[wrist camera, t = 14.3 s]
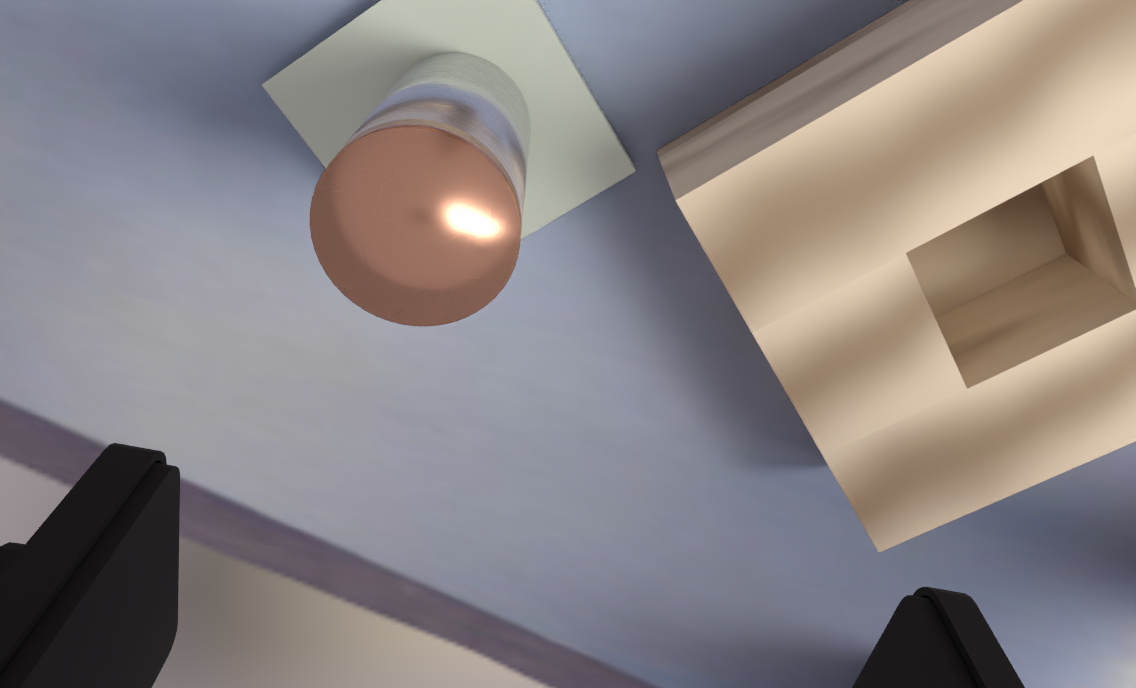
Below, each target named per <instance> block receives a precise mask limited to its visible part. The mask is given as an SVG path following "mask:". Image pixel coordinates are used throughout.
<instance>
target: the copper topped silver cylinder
mask: <svg viewBox="0 0 1136 688" xmlns="http://www.w3.org/2000/svg"><path fill="white" fill-rule="evenodd" d="M530 134H531V124H530V116H529V111H528V108H527V104H526V102H525V99H524V97H523V95H522V93H521V91H520V90H519V88H518V87H517V85H516V84H515V82H514V81H513V80H512V79H511V78H510V77H509V76H508V75H507V73H506V72H504V71H503V70H502V69H501V68H499V67H498V66H497V65H495V64H493V63H492V62H490V61H488V60H486V59H484V58H482V57H479V56H476V55H472V54H468V53H462V52H447V53H440V54H436V55H432V56H429V57H427V58H425V59H422V60H421V61H419V62H417V63H416V64H414V65H413V66H412V67H410V68H409V69H408V70H407V71H406V72H405V73H404V74H403V75H402V76H401V77H400V78H399V80H398V81H397V82H396V83H395V84H394V86H393V87H392V88H391V89H390V90H389V92H388V93H387V94H386V95H385V97H384V98H383V99H382V100H381V101H380V103H379V104H378V105H377V106H376V107H375V109H374V110H373V111H372V112H371V114H370V115H369V116H368V117H367V118H366V120H365V121H364V122H363V123H362V124H361V126H360V127H359V128H358V129H357V131H356V132H355V133H354V134H353V135H352V137H351V138H350V139H349V140H348V141H347V143H346V144H345V145H344V146H343V148H342V149H341V150H340V151H339V152H338V154H337V155H336V156H335V157H334V159H333V160H332V161H331V162H330V163H329V165H328V166H327V168H326V169H325V171H324V172H323V173H322V175H321V177H320V179H319V181H318V183H317V185H316V188H315V191H314V194H313V197H312V202H311V208H310V230H311V238H312V242H313V245H314V249H315V252H316V254H317V257H318V259H319V262H320V264H321V265H322V267H323V269H324V271H325V272H326V274H327V276H328V277H329V278H330V280H331V281H332V282H333V284H334V285H335V286H336V287H337V288H338V289H339V290H340V291H341V292H342V293H343V294H344V295H345V296H346V297H347V298H348V299H350V300H351V301H352V302H353V303H355V304H356V305H358V306H359V307H361V308H362V309H364V310H365V311H367V312H369V313H371V314H373V315H375V316H377V317H380V318H382V319H385V320H388V321H391V322H395V323H399V324H404V325H411V326H436V325H443V324H447V323H452V322H455V321H458V320H461V319H464V318H466V317H468V316H470V315H472V314H474V313H476V312H477V311H479V310H480V309H482V308H483V307H485V306H486V305H487V304H488V303H490V302H491V301H492V300H493V299H494V298H495V297H496V296H497V295H498V294H499V292H500V291H501V290H502V289H503V288H504V286H505V285H506V283H507V281H508V280H509V278H510V276H511V274H512V272H513V270H514V267H515V265H516V261H517V258H518V254H519V247H520V239H521V229H522V218H523V208H524V197H525V187H526V176H527V166H528V155H529V145H530Z"/></svg>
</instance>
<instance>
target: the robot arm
mask: <svg viewBox="0 0 1136 688" xmlns="http://www.w3.org/2000/svg"><path fill="white" fill-rule="evenodd" d="M179 505H180V471H179V469H178V467H176V466H171V465H167V464H166V457H165V454H164V453H163V452H161V451H157V450H151V449H145V448H140V447H134V446H129V445H123V444H117V443H113V444H110V445H109V446H108V447H107V448H106V449H105V450H104V451H103V452H102V453H101V454H100V456H99V457H98V458H97V459H96V460H95V462H94V463H93V464H92V465H91V466H90V468H89V469H88V470H87V471H86V472H85V474H84V475H83V476H82V477H81V478H80V480H79V481H78V482H77V483H76V484H75V486H74V487H73V488H72V489H71V490H70V492H69V493H68V494H67V495H66V496H65V498H64V499H63V500H62V501H61V503H60V504H59V505H58V506H57V507H56V508H55V510H54V511H53V512H52V513H51V514H50V516H49V517H48V518H47V519H46V520H45V522H44V523H43V524H42V525H41V526H40V528H39V529H38V530H37V531H36V532H35V534H34V535H33V536H32V537H31V538H30V540H29V541H28V542H27V543H26V544H19V543H11V542H9V543H7V544H5V545H3V546H0V688H152V686H153V684H154V682H155V680H156V678H157V676H158V674H159V672H160V670H161V668H162V667H163V664H164V663H165V661H166V659H167V657H168V655H169V653H170V651H171V648H172V645H173V643H174V639H175V636H176V631H177V624H178V571H179V570H178V568H179ZM852 688H1025V687H1024V685H1023V684H1022V682H1021V680H1020V679H1019V677H1018V675H1017V673H1016V672H1015V670H1014V668H1013V667H1012V665H1011V663H1010V661H1009V660H1008V658H1007V656H1006V655H1005V653H1004V651H1003V649H1002V648H1001V646H1000V644H999V643H998V641H997V639H996V637H995V636H994V634H993V632H992V630H991V629H990V627H989V625H988V624H987V622H986V620H985V618H984V617H983V615H982V613H981V612H980V610H979V608H978V606H977V605H976V603H975V602H974V601H973V599H972V598H971V597H970V596H968V595H966V594H964V593H959V592H953V591H947V590H942V589H936V588H930V587H921V588H919V589H918V590H916V592H915V593H914V594H913V596H912V595H907V596H906V597H904V598H903V599H902V600H901V602H900V603H899V605H898V607H897V609H896V610H895V612H894V614H893V616H892V618H891V619H890V621H889V623H888V625H887V627H886V628H885V630H884V632H883V634H882V635H881V637H880V639H879V641H878V643H877V644H876V646H875V648H874V650H873V652H872V653H871V655H870V657H869V659H868V660H867V662H866V664H865V666H864V668H863V669H862V671H861V673H860V675H859V676H858V678H857V680H856V682H855V684H854V685H853V687H852Z"/></svg>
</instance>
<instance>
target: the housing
mask: <svg viewBox="0 0 1136 688" xmlns="http://www.w3.org/2000/svg"><path fill="white" fill-rule="evenodd" d="M656 152H657V155H658V157H659V160H660V163H661V165H662V168H663V170H664V173H665V175H666V178H667V180H668V183H669V186H670V188H671V191H672V193H673V196H674V198H675V201H676V202H677V204H678V206H679V208H680V209H681V211H682V213H683V215H684V216H685V218H686V220H687V222H688V223H689V225H690V227H691V228H692V230H693V232H694V234H695V235H696V237H697V239H698V241H699V242H700V244H701V246H702V248H703V249H704V251H705V253H706V254H707V256H708V258H709V260H710V261H711V263H712V265H713V267H714V268H715V270H716V272H717V274H718V275H719V277H720V279H721V280H722V282H723V284H724V286H725V287H726V289H727V291H728V293H729V294H730V296H731V298H732V299H733V301H734V303H735V305H736V306H737V308H738V310H739V312H740V313H741V315H742V317H743V319H744V320H745V322H746V324H747V325H748V327H749V329H750V331H751V332H752V334H753V336H754V338H755V339H756V341H757V343H758V345H759V346H760V348H761V350H762V351H763V353H764V355H765V357H766V358H767V360H768V362H769V364H770V365H771V367H772V369H773V371H774V372H775V374H776V376H777V377H778V379H779V381H780V383H781V384H782V386H783V388H784V390H785V391H786V393H787V395H788V397H789V398H790V400H791V402H792V403H793V405H794V407H795V409H796V410H797V412H798V414H799V416H800V417H801V419H802V421H803V423H804V424H805V426H806V428H807V429H808V431H809V433H810V435H811V436H812V438H813V440H814V442H815V443H816V445H817V447H818V448H819V450H820V452H821V454H822V455H823V457H824V459H825V461H826V462H827V464H828V466H829V468H830V469H831V471H832V473H833V474H834V476H835V478H836V480H837V481H838V483H839V485H840V487H841V488H842V490H843V492H844V494H845V495H846V497H847V499H848V500H849V502H850V504H851V506H852V507H853V509H854V511H855V513H856V514H857V516H858V518H859V520H860V521H861V523H862V525H863V526H864V528H865V530H866V532H867V533H868V535H869V537H870V539H871V540H872V542H873V544H874V546H875V547H876V549H877V551H878V552H882V551H884V550H886V549H889V548H891V547H893V546H895V545H898V544H900V543H902V542H905V541H907V540H909V539H912V538H914V537H916V536H919V535H921V534H923V533H925V532H928V531H930V530H932V529H935V528H937V527H939V526H942V525H944V524H946V523H948V522H951V521H953V520H955V519H958V518H960V517H962V516H965V515H967V514H969V513H972V512H974V511H976V510H978V509H981V508H983V507H985V506H988V505H990V504H992V503H995V502H997V501H999V500H1001V499H1004V498H1006V497H1008V496H1011V495H1013V494H1015V493H1018V492H1020V491H1022V490H1025V489H1027V488H1029V487H1031V486H1034V485H1036V484H1038V483H1041V482H1043V481H1045V480H1048V479H1050V478H1052V477H1054V476H1057V475H1059V474H1061V473H1064V472H1066V471H1068V470H1071V469H1073V468H1075V467H1078V466H1080V465H1082V464H1084V463H1087V462H1089V461H1091V460H1094V459H1096V458H1098V457H1101V456H1103V455H1105V454H1108V453H1110V452H1112V451H1114V450H1117V449H1119V448H1121V447H1124V446H1126V445H1128V444H1131V443H1133V442H1135V441H1136V0H908V1H907V2H905V3H903V4H902V5H900V6H898V7H897V8H895V9H893V10H892V11H890V12H888V13H887V14H885V15H883V16H882V17H880V18H878V19H877V20H875V21H873V22H871V23H870V24H868V25H866V26H865V27H863V28H861V29H860V30H858V31H856V32H855V33H853V34H851V35H850V36H848V37H846V38H845V39H843V40H841V41H840V42H838V43H836V44H835V45H833V46H831V47H829V48H828V49H826V50H824V51H823V52H821V53H819V54H818V55H816V56H814V57H813V58H811V59H809V60H808V61H806V62H804V63H803V64H801V65H799V66H798V67H796V68H794V69H792V70H791V71H789V72H787V73H786V74H784V75H782V76H781V77H779V78H777V79H776V80H774V81H772V82H771V83H769V84H767V85H766V86H764V87H762V88H761V89H759V90H757V91H756V92H754V93H752V94H750V95H749V96H747V97H745V98H744V99H742V100H740V101H739V102H737V103H735V104H734V105H732V106H730V107H729V108H727V109H725V110H724V111H722V112H720V113H719V114H717V115H715V116H714V117H712V118H710V119H708V120H707V121H705V122H703V123H702V124H700V125H698V126H697V127H695V128H693V129H692V130H690V131H688V132H687V133H685V134H683V135H682V136H680V137H678V138H677V139H675V140H673V141H671V142H670V143H668V144H666V145H665V146H663V147H661V148H660V149H658V150H656Z"/></svg>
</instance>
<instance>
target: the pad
mask: <svg viewBox="0 0 1136 688" xmlns="http://www.w3.org/2000/svg"><path fill="white" fill-rule="evenodd" d="M447 52H462V53H468V54H472V55H476V56H479V57H482V58H484V59H486V60H488V61H490V62H492V63H493V64H495V65H497V66H498V67H499V68H501V69H502V70H503V71H504V72H506V73H507V75H508V76H509V77H510V78H511V79H512V80H513V81H514V82H515V84H516V85H517V87H518V88H519V90H520V91H521V93H522V95H523V97H524V99H525V102H526V104H527V108H528V111H529V116H530V124H531V134H530V145H529V155H528V166H527V176H526V187H525V197H524V208H523V218H522V229H521V239H523V238H524V237H526V236H528V235H529V234H531V233H533V232H534V231H536V230H538V229H540V228H541V227H543V226H545V225H546V224H548V223H550V222H551V221H553V220H555V219H556V218H558V217H560V216H561V215H563V214H565V213H567V212H568V211H570V210H572V209H573V208H575V207H577V206H578V205H580V204H582V203H583V202H585V201H587V200H588V199H590V198H592V197H594V196H595V195H597V194H599V193H600V192H602V191H604V190H605V189H607V188H609V187H610V186H612V185H614V184H616V183H617V182H619V181H621V180H622V179H624V178H626V177H627V176H629V175H631V174H632V173H634V172H636V170H635V167H634V164H633V162H632V160H631V159H630V157H629V155H628V154H627V152H626V150H625V148H624V147H623V145H622V143H621V142H620V140H619V138H618V137H617V135H616V133H615V131H614V130H613V128H612V126H611V125H610V123H609V121H608V120H607V118H606V116H605V115H604V113H603V111H602V109H601V108H600V106H599V104H598V103H597V101H596V99H595V98H594V96H593V94H592V92H591V91H590V89H589V87H588V86H587V84H586V82H585V81H584V79H583V77H582V75H581V74H580V72H579V70H578V69H577V67H576V65H575V64H574V62H573V60H572V59H571V57H570V55H569V53H568V52H567V50H566V48H565V47H564V45H563V43H562V42H561V40H560V38H559V36H558V35H557V33H556V31H555V30H554V28H553V26H552V25H551V23H550V21H549V19H548V18H547V16H546V14H545V13H544V11H543V9H542V8H541V6H540V4H539V3H538V1H537V0H381V1H379V2H378V3H376V4H375V5H374V6H372V7H371V8H369V9H368V10H366V11H365V12H364V13H362V14H361V15H359V16H358V17H357V18H355V19H354V20H352V21H351V22H350V23H348V24H347V25H345V26H344V27H342V28H341V29H340V30H338V31H337V32H335V33H334V34H333V35H331V36H330V37H328V38H327V39H325V40H324V41H323V42H321V43H320V44H318V45H317V46H316V47H314V48H313V49H311V50H310V51H308V52H307V53H306V54H304V55H303V56H301V57H300V58H299V59H297V60H296V61H294V62H293V63H291V64H290V65H289V66H287V67H286V68H284V69H283V70H282V71H280V72H279V73H277V74H276V75H274V76H273V77H272V78H270V79H269V80H267V81H266V82H265V83H263V84H262V87H263V88H264V89H265V90H266V92H267V93H268V94H269V96H270V97H271V98H272V99H273V101H274V102H275V103H276V105H277V106H278V107H279V109H280V110H281V111H282V112H283V114H284V115H285V116H286V118H287V119H288V120H289V121H290V123H291V124H292V125H293V127H294V128H295V129H296V131H297V132H298V133H299V134H300V136H301V137H302V138H303V140H304V141H305V142H306V143H307V145H308V146H309V147H310V149H311V150H312V151H313V153H314V154H315V155H316V156H317V158H318V159H319V160H320V162H321V163H322V164H323V165H324V167H325V168H327V166H328V165H329V163H330V162H331V161H332V160H333V159H334V157H335V156H336V155H337V154H338V152H339V151H340V150H341V149H342V148H343V146H344V145H345V144H346V143H347V141H348V140H349V139H350V138H351V137H352V135H353V134H354V133H355V132H356V131H357V129H358V128H359V127H360V126H361V124H362V123H363V122H364V121H365V120H366V118H367V117H368V116H369V115H370V114H371V112H372V111H373V110H374V109H375V107H376V106H377V105H378V104H379V103H380V101H381V100H382V99H383V98H384V97H385V95H386V94H387V93H388V92H389V90H390V89H391V88H392V87H393V86H394V84H395V83H396V82H397V81H398V80H399V78H400V77H401V76H402V75H403V74H404V73H405V72H406V71H407V70H408V69H409V68H410V67H412V66H413V65H414V64H416V63H417V62H419V61H421V60H422V59H425V58H427V57H429V56H432V55H436V54H440V53H447ZM521 239H520V240H521Z"/></svg>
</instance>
